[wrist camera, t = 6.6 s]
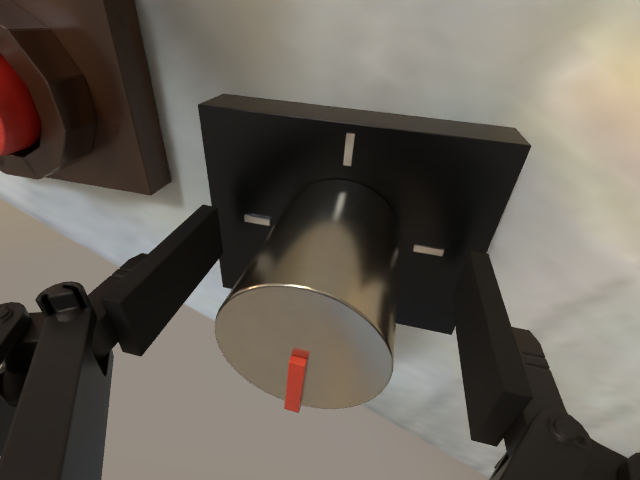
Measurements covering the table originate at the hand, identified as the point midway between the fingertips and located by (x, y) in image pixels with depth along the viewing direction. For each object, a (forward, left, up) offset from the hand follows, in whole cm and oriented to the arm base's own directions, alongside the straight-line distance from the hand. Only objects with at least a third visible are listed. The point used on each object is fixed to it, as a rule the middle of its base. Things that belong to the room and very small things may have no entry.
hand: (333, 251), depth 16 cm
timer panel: (0, 0, -4) cm, 4 cm away
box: (+17, -5, -4) cm, 18 cm away
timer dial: (0, 0, -2) cm, 2 cm away
